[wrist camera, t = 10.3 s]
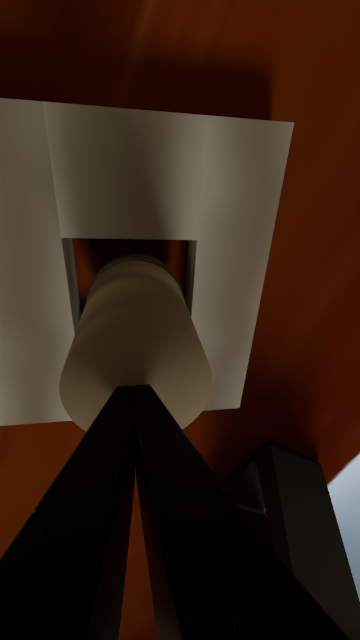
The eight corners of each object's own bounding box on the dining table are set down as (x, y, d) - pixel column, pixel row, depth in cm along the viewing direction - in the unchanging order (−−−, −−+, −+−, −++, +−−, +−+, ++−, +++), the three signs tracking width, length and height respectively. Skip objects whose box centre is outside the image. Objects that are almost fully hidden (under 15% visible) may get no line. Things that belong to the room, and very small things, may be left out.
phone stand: (268, 439, 22) (394, 688, 11) (318, 460, 24) (461, 685, 14) (199, 506, 25) (248, 756, 14) (249, 519, 27) (324, 744, 16)
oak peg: (97, 322, 15) (67, 451, 8) (89, 243, 13) (42, 324, 6) (175, 320, 16) (208, 438, 9) (178, 244, 14) (223, 319, 7)
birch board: (-167, 409, 15) (-205, 441, 14) (-393, 76, 9) (-519, 54, 7) (229, 385, 19) (239, 407, 17) (271, 129, 12) (294, 122, 11)
